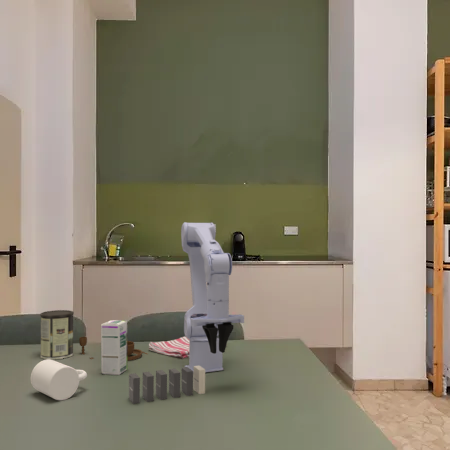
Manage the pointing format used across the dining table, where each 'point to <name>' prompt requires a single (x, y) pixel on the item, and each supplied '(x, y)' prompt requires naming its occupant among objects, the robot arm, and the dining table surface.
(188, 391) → the domino
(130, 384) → the domino
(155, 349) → the dish towel
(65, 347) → the coffee can
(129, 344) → the place setting
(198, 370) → the domino
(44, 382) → the mug
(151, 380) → the domino
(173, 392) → the domino
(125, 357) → the syrup box
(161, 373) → the domino
